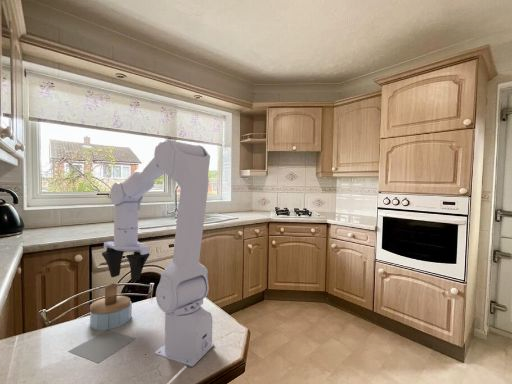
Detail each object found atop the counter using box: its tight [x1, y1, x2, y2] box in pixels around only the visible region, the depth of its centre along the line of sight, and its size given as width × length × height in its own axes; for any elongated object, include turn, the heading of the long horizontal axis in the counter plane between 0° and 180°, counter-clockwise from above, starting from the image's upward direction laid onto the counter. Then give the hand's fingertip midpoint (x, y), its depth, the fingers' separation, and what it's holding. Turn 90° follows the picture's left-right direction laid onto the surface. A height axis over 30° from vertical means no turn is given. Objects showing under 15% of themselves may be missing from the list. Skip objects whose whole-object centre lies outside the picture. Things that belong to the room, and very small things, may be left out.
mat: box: [67, 329, 137, 364], centre depth 55 cm, size 9×9×1 cm
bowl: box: [89, 300, 133, 331], centre depth 65 cm, size 9×9×4 cm
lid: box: [89, 283, 131, 314], centre depth 65 cm, size 9×9×5 cm
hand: (125, 278), depth 69 cm, fingers open, 7 cm apart
